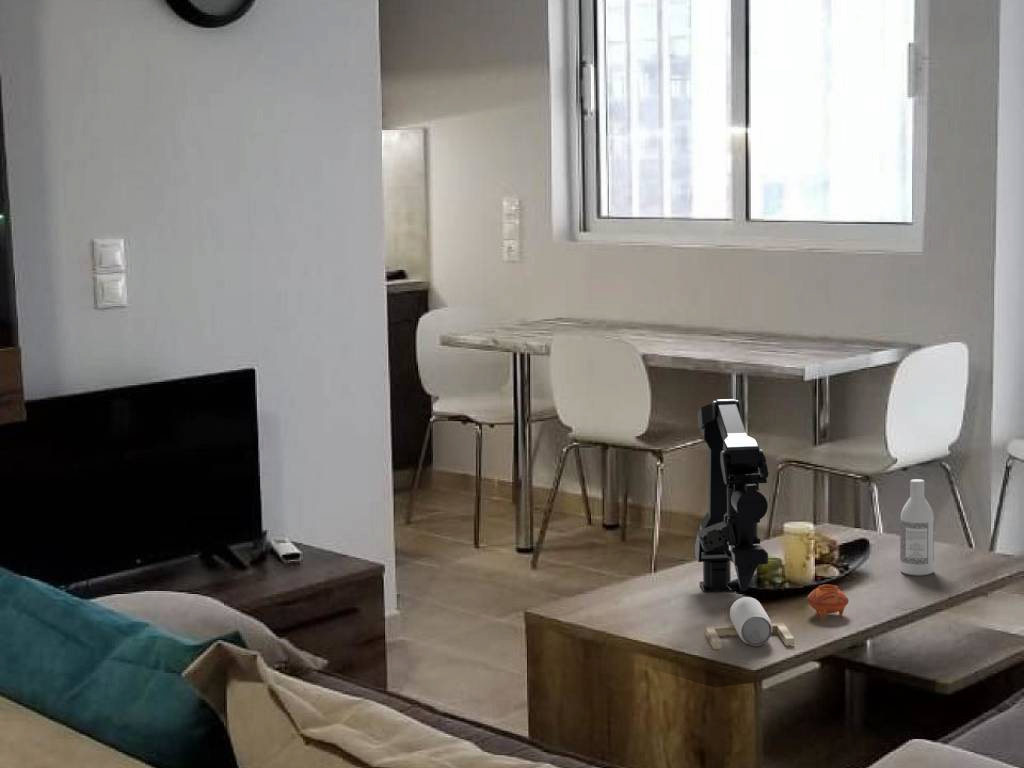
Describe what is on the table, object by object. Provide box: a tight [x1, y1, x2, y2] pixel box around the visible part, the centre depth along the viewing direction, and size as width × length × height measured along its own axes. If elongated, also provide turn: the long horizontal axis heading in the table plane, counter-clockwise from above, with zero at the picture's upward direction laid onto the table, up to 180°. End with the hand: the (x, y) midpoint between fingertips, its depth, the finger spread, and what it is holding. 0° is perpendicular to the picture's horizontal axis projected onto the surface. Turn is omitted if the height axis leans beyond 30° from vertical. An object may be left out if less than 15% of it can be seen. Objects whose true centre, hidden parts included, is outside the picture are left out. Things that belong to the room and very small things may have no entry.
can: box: [729, 596, 773, 647], centre depth 306 cm, size 6×6×12 cm
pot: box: [806, 584, 849, 621], centre depth 319 cm, size 8×8×7 cm
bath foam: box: [899, 478, 935, 576], centre depth 347 cm, size 7×7×20 cm
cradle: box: [704, 622, 795, 650], centre depth 305 cm, size 10×15×2 cm, turn 92°
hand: (743, 590), depth 310 cm, fingers closed
